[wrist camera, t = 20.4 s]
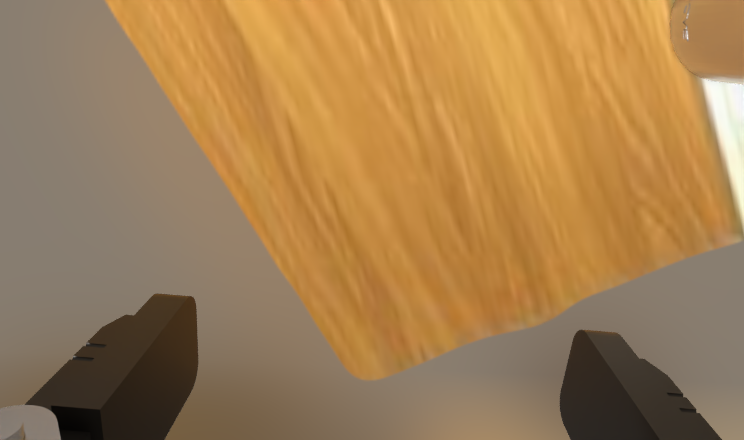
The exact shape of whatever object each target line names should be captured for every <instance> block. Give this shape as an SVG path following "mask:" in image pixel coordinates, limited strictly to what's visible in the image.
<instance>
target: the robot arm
mask: <svg viewBox="0 0 744 440" xmlns="http://www.w3.org/2000/svg"><path fill="white" fill-rule="evenodd" d="M670 33H671V41H672V44H673V48H674V51H675V53H676V54H677V56H678V58H679V60H680V62H681V63H682V64H683V65H684V66H685V67H686V68H687V69H688V70H689V71H691V72H692V73H694V74H695V75H697V76H699V77H701V78H704V79H707V80H710V81H716V82H725V83H734V84H742V85H744V0H675V2H674V5H673V8H672V14H671V20H670ZM197 341H198V340H197V314H196V303H195V300H194V298H193V297H191V296H180V295H167V294H154V295H153V296H152V297H151V298H150V299H149V300H148V301H147V302H146V303H145V304H144V306H143V307H142V308H141V309H140V310H139V311H138V312H137V313H136V314H135V315H134V316H132V315H124V316H123V317H121V318H119V319H117V320H115V321H113V322H111V323H109V324H107V325H106V326H104V327H102V328H101V329H100V330H99V331H98V332H97V333H96V334H95V335H94V336H93V337H92V338H91V339H90V340H89V341H88V342H87V344H86V346H83V347H82V348H81V349H80V350H79V351H78V352H77V353H76V354H75V355H74V356H73V359H72V360H69V361H68V362H67V363H66V364H65V365H64V366H63V367H62V368H61V369H60V370H59V371H58V372H57V373H56V374H55V375H54V376H53V377H52V378H51V379H50V380H49V381H48V382H47V383H46V384H45V385H44V386H43V387H42V388H41V389H40V390H39V391H38V392H37V393H36V394H35V395H34V396H33V397H32V398H31V399H30V400H29V401H28V402H27V403H26V404H25V405H17V406H10V407H5V408H1V409H0V440H164V439H165V438H166V436H167V434H168V432H169V431H170V428H171V427H172V425H173V423H174V421H175V420H176V418H177V416H178V414H179V413H180V411H181V409H182V407H183V406H184V404H185V402H186V400H187V398H188V397H189V395H190V393H191V391H192V389H193V386H194V383H195V380H196V376H197V370H198V342H197ZM560 412H561V417H562V421H563V424H564V426H565V428H566V430H567V433H568V435H569V437H570V439H571V440H722V439H721V438H720V437H719V436H718V434H717V433H716V432H715V431H714V430H713V429H712V427H711V426H710V425H709V424H708V423H707V421H706V420H705V419H704V418H703V417H702V416H701V414H700V413H696V409H695V407H694V406H693V405H692V404H691V403H690V401H689V400H688V399H687V398H685V397H683V393H682V392H681V391H680V390H679V388H678V387H677V386H676V385H675V384H674V383H673V381H672V380H671V379H670V378H669V377H668V376H667V375H666V374H665V373H663V372H662V371H660V370H659V369H658V368H656V367H655V366H653V365H652V364H650V363H649V362H648V361H646V360H645V359H639V358H638V357H637V355H636V354H635V353H634V352H633V350H632V349H631V348H630V347H629V345H628V344H627V343H626V342H625V340H624V339H623V338H622V337H621V336H620V335H619V334H618V333H614V332H613V333H612V332H601V331H590V330H579V331H578V332H577V333H576V334H575V336H574V338H573V342H572V346H571V350H570V355H569V359H568V363H567V367H566V371H565V376H564V380H563V384H562V388H561V393H560Z"/></svg>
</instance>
